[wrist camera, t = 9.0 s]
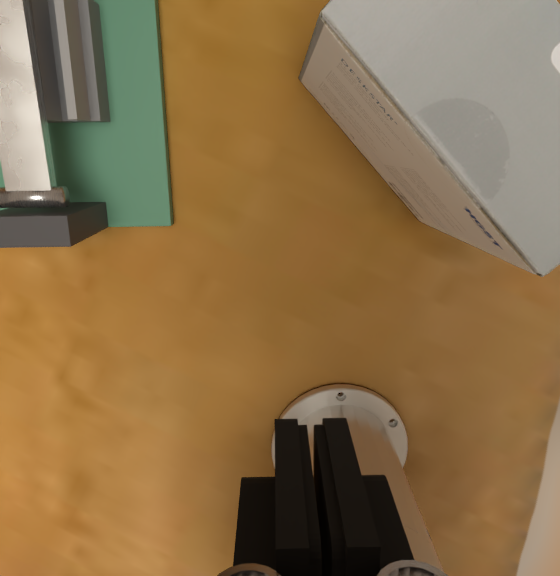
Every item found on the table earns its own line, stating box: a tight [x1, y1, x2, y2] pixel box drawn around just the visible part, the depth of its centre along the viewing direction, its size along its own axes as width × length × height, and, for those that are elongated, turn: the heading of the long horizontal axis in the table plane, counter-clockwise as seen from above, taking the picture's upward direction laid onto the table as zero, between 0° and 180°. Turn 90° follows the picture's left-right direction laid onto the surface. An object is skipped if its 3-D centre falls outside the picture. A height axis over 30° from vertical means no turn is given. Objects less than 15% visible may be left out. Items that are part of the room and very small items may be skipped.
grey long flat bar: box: [0, 0, 70, 208], centre depth 32 cm, size 18×4×1 cm, turn 1°
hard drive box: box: [299, 0, 560, 277], centre depth 31 cm, size 16×8×20 cm, turn 43°
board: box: [0, 0, 174, 248], centre depth 35 cm, size 24×16×9 cm, turn 1°
